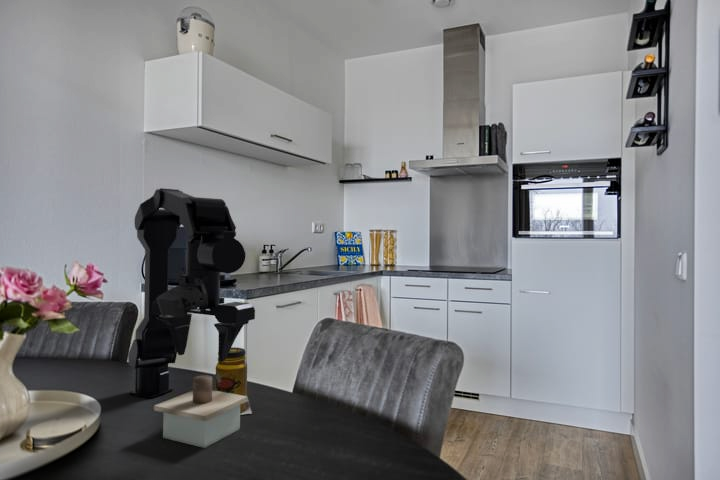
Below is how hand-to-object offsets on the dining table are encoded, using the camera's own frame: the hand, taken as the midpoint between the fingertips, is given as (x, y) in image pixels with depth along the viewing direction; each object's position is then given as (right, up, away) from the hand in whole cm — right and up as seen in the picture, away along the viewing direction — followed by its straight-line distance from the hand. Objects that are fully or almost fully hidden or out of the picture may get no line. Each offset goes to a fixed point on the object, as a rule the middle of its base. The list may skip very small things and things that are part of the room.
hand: (201, 358), depth 86 cm
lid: (0, -8, -1) cm, 8 cm away
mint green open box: (0, -13, -1) cm, 13 cm away
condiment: (+2, -13, +11) cm, 18 cm away
